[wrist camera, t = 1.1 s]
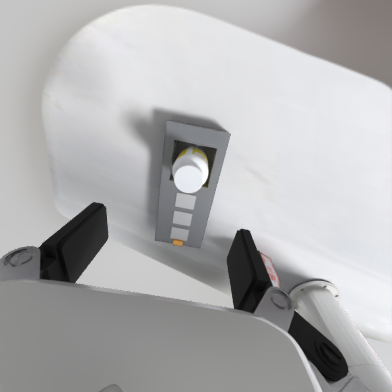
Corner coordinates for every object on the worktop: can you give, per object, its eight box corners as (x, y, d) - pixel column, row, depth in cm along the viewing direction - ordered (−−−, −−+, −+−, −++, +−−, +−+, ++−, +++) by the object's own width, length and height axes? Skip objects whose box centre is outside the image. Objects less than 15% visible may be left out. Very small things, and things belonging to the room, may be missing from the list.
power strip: (200, 239, 39) (200, 250, 35) (158, 231, 38) (154, 242, 35) (228, 132, 28) (231, 134, 25) (170, 120, 27) (165, 121, 24)
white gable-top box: (259, 266, 42) (274, 308, 33) (238, 255, 40) (248, 295, 31) (270, 258, 40) (288, 299, 31) (248, 245, 39) (261, 285, 30)
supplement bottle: (179, 174, 32) (170, 198, 23) (177, 146, 29) (165, 159, 21) (207, 174, 31) (208, 197, 23) (207, 145, 29) (208, 158, 20)
